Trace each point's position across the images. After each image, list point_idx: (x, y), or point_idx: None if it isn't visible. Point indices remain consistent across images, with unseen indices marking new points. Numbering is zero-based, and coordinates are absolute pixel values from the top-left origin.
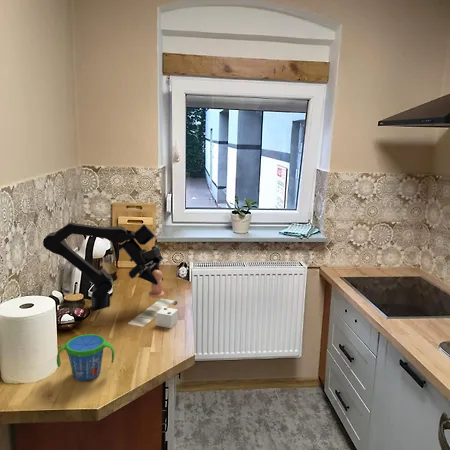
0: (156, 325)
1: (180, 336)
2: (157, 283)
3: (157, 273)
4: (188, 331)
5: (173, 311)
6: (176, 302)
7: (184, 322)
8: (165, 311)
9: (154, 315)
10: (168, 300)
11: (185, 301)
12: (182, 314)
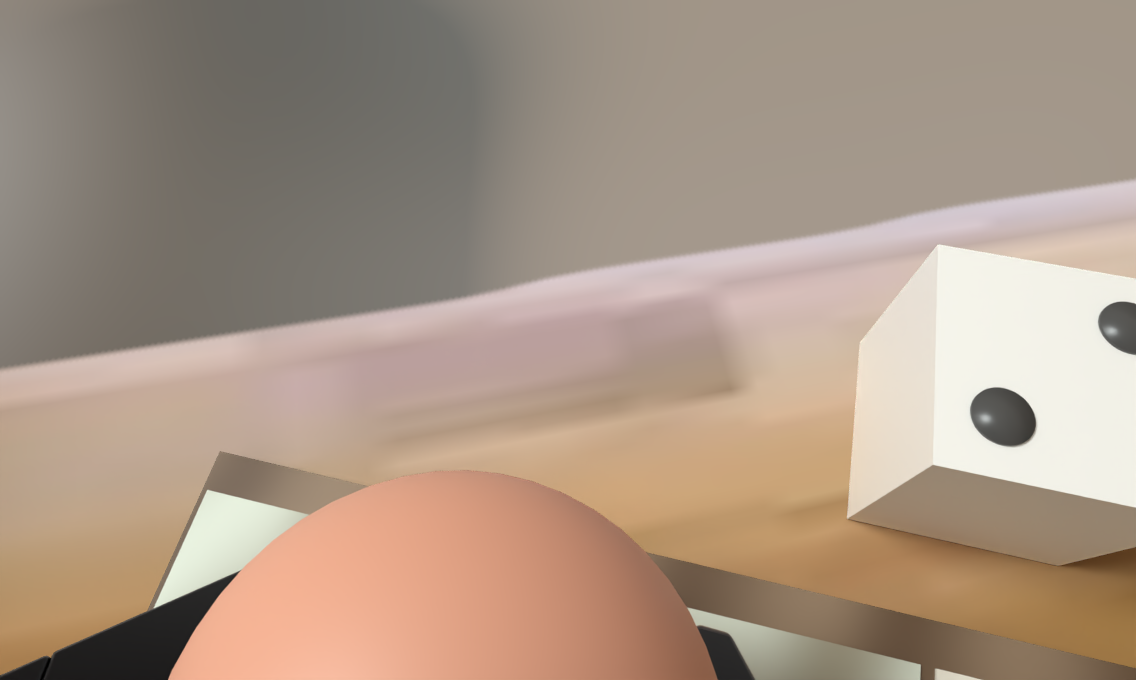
0: (1078, 555)
1: (1120, 266)
2: (723, 636)
3: (658, 657)
4: (979, 216)
5: (1037, 285)
6: (251, 460)
7: (785, 284)
8: (1092, 394)
9: (787, 666)
10: (192, 584)
11: (167, 373)
12: (578, 339)
